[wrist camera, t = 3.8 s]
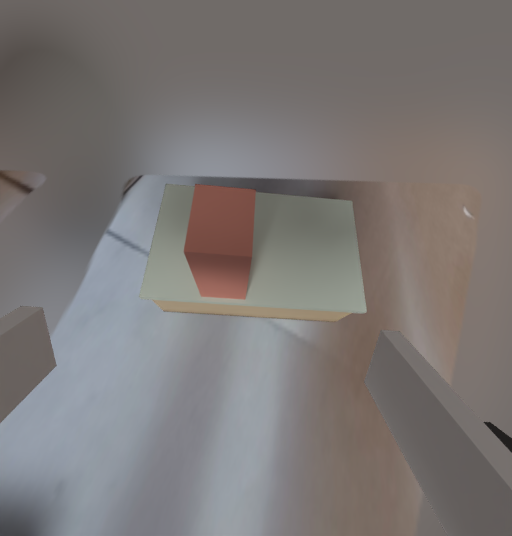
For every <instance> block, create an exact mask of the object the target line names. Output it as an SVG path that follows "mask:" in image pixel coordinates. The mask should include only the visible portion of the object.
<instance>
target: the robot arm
mask: <svg viewBox="0 0 512 536" xmlns="http://www.w3.org/2000/svg"><path fill="white" fill-rule="evenodd" d="M56 366H57V365H56V361H55V357H54V353H53V349H52V345H51V340H50V336H49V332H48V328H47V324H46V320H45V315H44V311H43V308H42V307H28V306H20V307H19V308H17V309H15V310H14V311H12V312H11V313H9V314H7V315H5V316H4V317H2V318H1V319H0V423H1V422H2V421H3V420H4V419H5V418H6V417H7V416H8V415H9V414H10V412H11V411H12V410H13V409H14V408H15V407H16V406H17V405H18V404H19V403H20V402H21V401H22V400H23V399H24V398H25V397H26V396H27V395H28V394H29V393H30V392H31V391H32V390H33V389H34V388H35V387H36V386H37V385H38V384H39V383H40V382H41V381H42V380H43V379H44V378H45V377H46V376H47V375H48V374H49V373H50V372H51V371H52V370H53V369H54V368H55V367H56ZM364 383H365V384H366V386H367V388H368V390H369V392H370V394H371V396H372V398H373V399H374V401H375V403H376V405H377V407H378V409H379V411H380V412H381V414H382V416H383V418H384V420H385V422H386V424H387V425H388V427H389V429H390V431H391V433H392V435H393V437H394V438H395V440H396V442H397V444H398V446H399V448H400V450H401V451H402V453H403V455H404V457H405V459H406V461H407V463H408V464H409V466H410V468H411V470H412V472H413V474H414V476H415V477H416V479H417V481H418V483H419V485H420V487H421V489H422V490H423V492H424V494H425V496H426V498H427V500H428V502H429V503H430V505H431V507H432V509H433V511H434V513H435V514H436V517H437V518H438V520H439V522H440V524H441V526H442V528H443V530H444V531H445V533H446V535H447V536H512V438H510V437H509V436H508V435H506V434H505V433H504V432H502V431H501V430H500V429H498V428H497V427H496V426H494V425H493V424H491V423H490V422H483V421H482V420H481V419H480V418H479V417H478V416H477V415H476V414H475V413H474V412H473V410H472V409H471V408H470V407H469V406H468V405H467V404H466V403H465V402H464V401H463V400H462V399H461V397H460V396H459V395H458V394H457V393H456V392H455V391H454V390H453V389H452V388H451V387H450V386H449V384H448V383H447V382H446V381H445V380H444V379H443V378H442V377H441V376H440V375H439V374H438V373H437V371H436V370H435V369H434V368H433V367H432V366H431V365H430V364H429V363H428V362H427V361H426V360H425V358H424V357H423V356H422V355H421V354H420V353H419V352H418V351H417V350H416V349H415V348H414V347H413V345H412V344H411V343H410V342H409V341H408V340H407V339H406V338H405V337H404V336H403V335H402V333H401V332H400V331H389V330H381V332H380V335H379V338H378V341H377V344H376V347H375V350H374V354H373V357H372V360H371V363H370V366H369V369H368V372H367V375H366V378H365V381H364Z"/></svg>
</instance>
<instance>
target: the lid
mask: <svg viewBox="0 0 512 536" xmlns="http://www.w3.org/2000/svg"><path fill="white" fill-rule="evenodd" d="M139 297H140V298H141V299H147V300H162V301H178V302H193V303H209V304H224V305H239V306H255V307H270V308H286V309H301V310H316V311H332V312H347V313H365V312H367V311H366V303H365V296H364V288H363V280H362V273H361V265H360V258H359V250H358V243H357V235H356V227H355V220H354V212H353V205H352V201H348V200H337V199H326V198H315V197H304V196H294V195H283V194H272V193H261V192H256V190H254V189H243V188H233V187H222V186H211V185H200V184H195V186H185V185H174V184H166V185H165V190H164V194H163V198H162V202H161V207H160V211H159V215H158V219H157V223H156V228H155V232H154V236H153V240H152V245H151V249H150V253H149V257H148V261H147V266H146V270H145V274H144V278H143V283H142V287H141V291H140V295H139Z"/></svg>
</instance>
